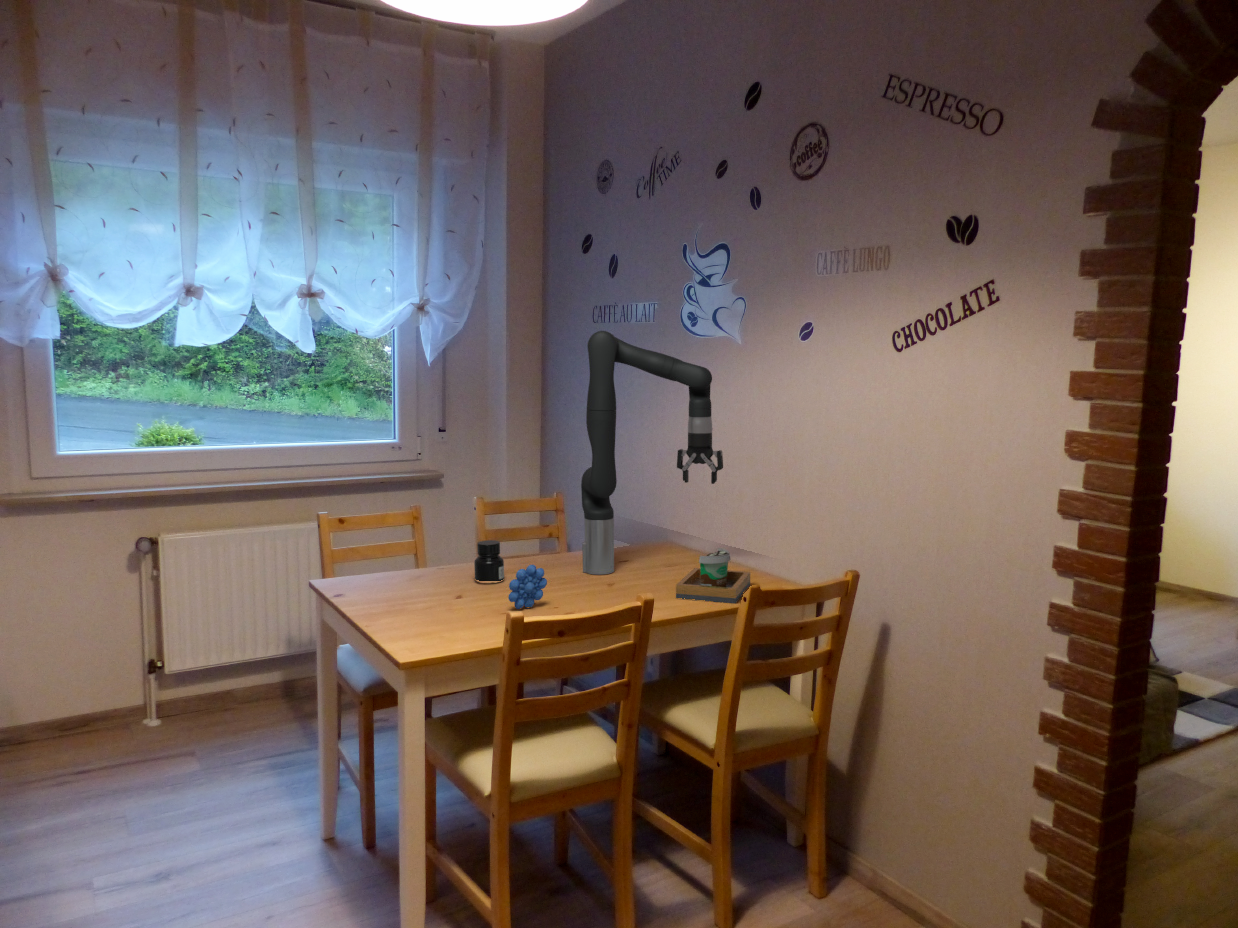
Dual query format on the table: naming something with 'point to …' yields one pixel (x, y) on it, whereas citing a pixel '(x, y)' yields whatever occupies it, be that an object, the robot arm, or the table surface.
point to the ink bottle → (489, 561)
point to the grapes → (527, 587)
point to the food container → (714, 568)
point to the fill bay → (713, 587)
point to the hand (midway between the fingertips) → (699, 482)
